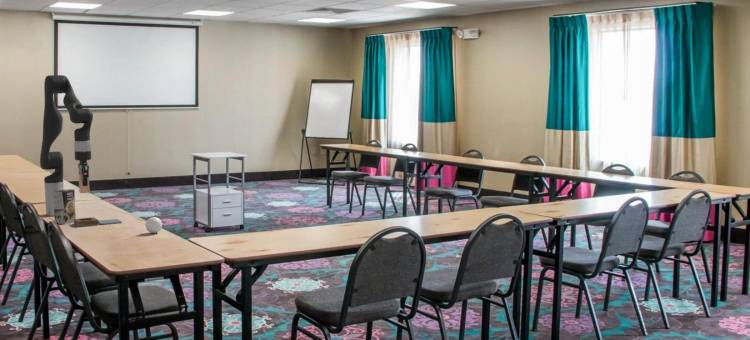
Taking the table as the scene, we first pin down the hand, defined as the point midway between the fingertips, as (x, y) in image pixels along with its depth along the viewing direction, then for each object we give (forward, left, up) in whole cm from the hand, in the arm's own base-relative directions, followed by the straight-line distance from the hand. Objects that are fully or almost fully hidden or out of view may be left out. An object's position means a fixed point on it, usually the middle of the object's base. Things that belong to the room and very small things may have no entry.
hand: (84, 185), depth 387 cm
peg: (0, 0, -4) cm, 4 cm away
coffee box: (-12, -7, -20) cm, 24 cm away
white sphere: (+40, +22, -20) cm, 49 cm away
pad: (0, +11, -19) cm, 22 cm away
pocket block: (0, 0, -19) cm, 19 cm away
